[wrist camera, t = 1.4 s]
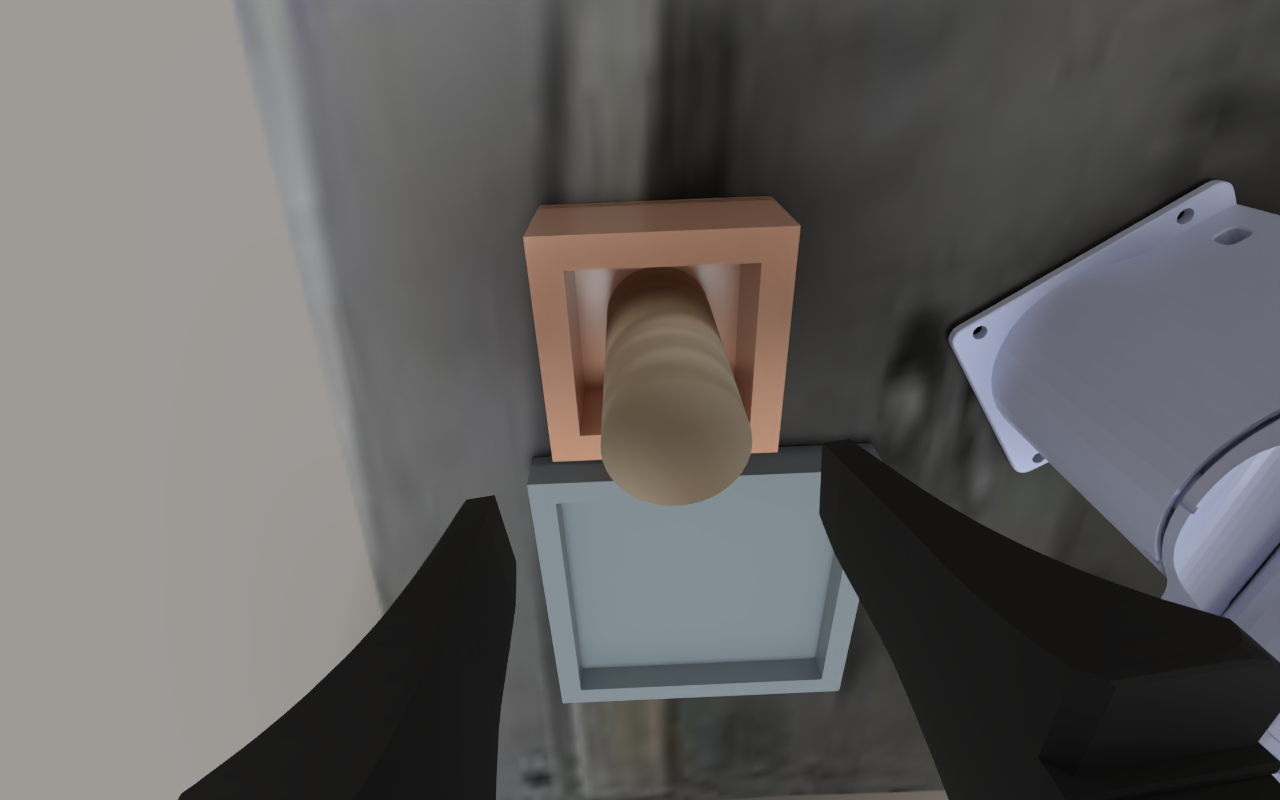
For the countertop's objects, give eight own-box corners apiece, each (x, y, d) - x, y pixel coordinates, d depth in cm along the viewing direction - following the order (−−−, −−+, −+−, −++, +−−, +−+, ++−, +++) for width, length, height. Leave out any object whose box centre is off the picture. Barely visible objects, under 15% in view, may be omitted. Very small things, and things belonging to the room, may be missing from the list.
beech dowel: (671, 244, 20) (698, 351, 13) (728, 325, 21) (779, 459, 15) (586, 305, 21) (569, 435, 14) (646, 378, 22) (657, 527, 16)
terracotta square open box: (771, 195, 20) (800, 225, 16) (755, 395, 24) (777, 452, 20) (539, 205, 20) (522, 237, 16) (562, 403, 24) (552, 461, 20)
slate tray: (870, 442, 25) (887, 469, 23) (828, 659, 32) (838, 690, 30) (532, 457, 25) (526, 484, 23) (565, 671, 32) (562, 703, 30)
